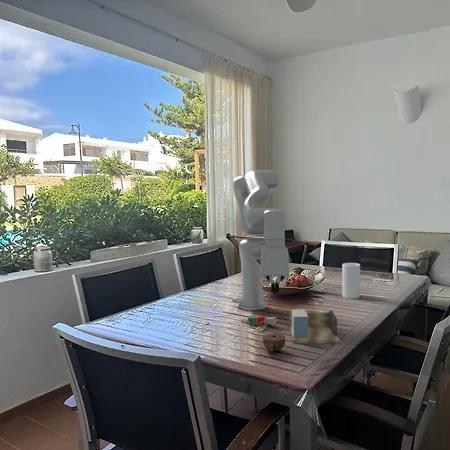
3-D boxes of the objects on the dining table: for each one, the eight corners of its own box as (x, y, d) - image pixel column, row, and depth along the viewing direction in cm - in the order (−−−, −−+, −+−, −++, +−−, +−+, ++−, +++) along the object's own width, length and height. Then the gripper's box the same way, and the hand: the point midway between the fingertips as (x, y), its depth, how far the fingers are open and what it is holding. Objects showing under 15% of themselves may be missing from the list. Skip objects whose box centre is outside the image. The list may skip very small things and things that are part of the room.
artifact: (259, 353, 141) (259, 339, 141) (266, 345, 148) (265, 331, 148) (282, 356, 138) (282, 341, 138) (287, 348, 145) (287, 334, 145)
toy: (250, 311, 181) (282, 311, 173) (251, 320, 181) (283, 321, 173) (232, 321, 168) (265, 322, 160) (233, 330, 169) (267, 332, 160)
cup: (341, 297, 206) (341, 265, 205) (343, 293, 214) (343, 262, 212) (358, 299, 203) (359, 266, 202) (360, 294, 211) (360, 263, 209)
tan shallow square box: (293, 343, 150) (293, 323, 149) (289, 327, 166) (289, 309, 165) (339, 343, 148) (339, 323, 148) (331, 327, 164) (331, 309, 164)
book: (293, 337, 152) (293, 316, 151) (291, 328, 161) (291, 309, 160) (307, 337, 152) (307, 316, 151) (305, 328, 161) (305, 309, 160)
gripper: (253, 245, 151) (254, 296, 152) (296, 244, 149) (296, 296, 151) (253, 242, 158) (254, 291, 159) (294, 242, 157) (295, 291, 158)
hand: (275, 293), depth 155 cm, fingers closed
